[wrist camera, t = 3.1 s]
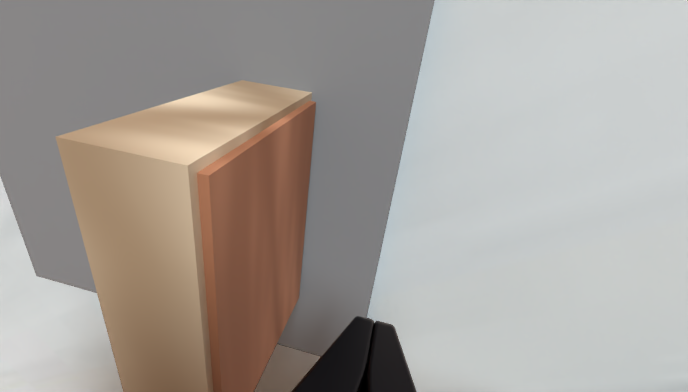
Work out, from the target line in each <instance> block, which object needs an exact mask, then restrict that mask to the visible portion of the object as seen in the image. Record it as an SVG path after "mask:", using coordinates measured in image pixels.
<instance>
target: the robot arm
mask: <svg viewBox="0 0 688 392" xmlns="http://www.w3.org/2000/svg"><path fill="white" fill-rule="evenodd" d="M292 392H416V389H415V386H414V383H413V380H412V377H411V374H410V371H409V368H408V365H407V362H406V359H405V356H404V354H403V351H402V348H401V345H400V342H399V339H398V336H397V333H396V330H395V328H394V326H393V325H391V324H388V323H384V322H380V321H376V322H375V323H374V321H373V320H372V319H369V318H365V317H361V316H356V317H355V318H354V319H353V320H352V321H351V322H350V323H349V325H348V326H347V327H346V328H345V329H344V331H343V332H342V333H341V334H340V335H339V336H338V338H337V339H336V340H335V341H334V342H333V343H332V345H331V346H330V347H329V348H328V349H327V351H326V352H325V353H324V354H323V355H322V356H321V358H320V359H319V360H318V361H317V362H316V363H315V365H314V366H313V367H312V368H311V369H310V371H309V372H308V373H307V374H306V375H305V376H304V378H303V379H302V380H301V381H300V382H299V383H298V385H297V386H296V387H295V388H294V389H293V391H292Z"/></svg>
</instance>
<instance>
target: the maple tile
mask: <svg viewBox="0 0 688 392" xmlns="http://www.w3.org/2000/svg"><path fill="white" fill-rule="evenodd" d="M311 100H312V92H306V91H301V90H295V89H289V88H284V87H278V86H272V85H267V84H261V83H255V82H250V81H244V80H241V81H238V82H234V83H231V84H228V85H224V86H221V87H218V88H215V89H211V90H208V91H205V92H201V93H198V94H195V95H192V96H188V97H185V98H182V99H178V100H175V101H172V102H168V103H165V104H162V105H159V106H155V107H152V108H149V109H145V110H142V111H139V112H135V113H132V114H129V115H126V116H122V117H119V118H116V119H112V120H109V121H106V122H103V123H99V124H96V125H93V126H89V127H86V128H83V129H79V130H76V131H73V132H70V133H66V134H63V135H60V136H56V141H57V145H58V148H59V152H60V156H61V160H62V163H63V167H64V171H65V175H66V178H67V182H68V186H69V190H70V193H71V197H72V201H73V205H74V208H75V212H76V216H77V220H78V223H79V227H80V231H81V234H82V238H83V242H84V246H85V249H86V253H87V257H88V261H89V264H90V268H91V272H92V276H93V279H94V283H95V287H96V291H97V294H98V298H99V302H100V306H101V309H102V313H103V317H104V321H105V324H106V328H107V332H108V336H109V339H110V343H111V347H112V351H113V354H114V358H115V362H116V366H117V369H118V373H119V377H120V380H121V384H122V388H123V392H254V390H255V388H256V386H257V384H258V382H259V380H260V378H261V376H262V374H263V371H264V369H265V367H266V365H267V363H268V361H269V359H270V357H271V355H272V353H273V351H274V349H275V346H276V344H277V342H278V340H279V338H280V336H281V334H282V332H283V330H284V328H285V326H286V324H287V321H288V319H289V317H290V315H291V313H292V311H293V309H294V307H295V305H296V303H297V301H298V299H299V291H300V280H301V268H302V257H303V246H304V234H305V223H306V211H307V200H308V189H309V177H310V166H311V154H312V143H313V132H314V120H315V109H316V102H314V101H311Z"/></svg>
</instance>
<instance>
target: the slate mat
mask: <svg viewBox="0 0 688 392" xmlns="http://www.w3.org/2000/svg"><path fill="white" fill-rule="evenodd" d="M433 5H434V0H0V176H1V179H2V182H3V184H4V187H5V190H6V193H7V195H8V198H9V201H10V204H11V207H12V209H13V212H14V215H15V218H16V220H17V223H18V226H19V229H20V231H21V234H22V237H23V240H24V242H25V245H26V248H27V251H28V253H29V256H30V259H31V262H32V264H33V267H34V270H35V273H36V276H39V277H42V278H46V279H50V280H53V281H57V282H60V283H64V284H67V285H71V286H74V287H78V288H81V289H85V290H88V291H92V292H95V293H97V291H96V287H95V283H94V279H93V276H92V272H91V268H90V264H89V261H88V257H87V253H86V249H85V246H84V242H83V238H82V234H81V231H80V227H79V223H78V220H77V216H76V212H75V208H74V205H73V201H72V197H71V193H70V190H69V186H68V182H67V178H66V175H65V171H64V167H63V163H62V160H61V156H60V152H59V148H58V145H57V141H56V136H60V135H63V134H66V133H70V132H73V131H76V130H79V129H83V128H86V127H89V126H93V125H96V124H99V123H103V122H106V121H109V120H112V119H116V118H119V117H122V116H126V115H129V114H132V113H135V112H139V111H142V110H145V109H149V108H152V107H155V106H159V105H162V104H165V103H168V102H172V101H175V100H178V99H182V98H185V97H188V96H192V95H195V94H198V93H201V92H205V91H208V90H211V89H215V88H218V87H221V86H224V85H228V84H231V83H234V82H238V81H241V80H244V81H250V82H255V83H261V84H267V85H272V86H278V87H284V88H289V89H295V90H301V91H306V92H312V100H311V101H314V102H316V109H315V120H314V132H313V143H312V154H311V166H310V177H309V189H308V200H307V211H306V223H305V234H304V246H303V257H302V268H301V280H300V291H299V299H298V301H297V303H296V305H295V307H294V309H293V311H292V313H291V315H290V317H289V319H288V321H287V324H286V326H285V328H284V330H283V332H282V334H281V336H280V338H279V340H278V342H277V344H279V345H283V346H286V347H290V348H293V349H297V350H301V351H304V352H308V353H311V354H315V355H318V356H322V355H323V354H324V353H325V352H326V351H327V349H328V348H329V347H330V346H331V345H332V343H333V342H334V341H335V340H336V339H337V338H338V336H339V335H340V334H341V333H342V332H343V331H344V329H345V328H346V327H347V326H348V325H349V323H350V322H351V321H352V320H353V319H354V318H355V317H356V316H361V317H365V318H366V317H367V312H368V308H369V303H370V298H371V294H372V289H373V284H374V280H375V275H376V270H377V266H378V261H379V256H380V252H381V247H382V242H383V238H384V233H385V228H386V224H387V219H388V214H389V210H390V205H391V200H392V196H393V191H394V187H395V182H396V177H397V173H398V168H399V163H400V159H401V154H402V149H403V145H404V140H405V135H406V131H407V126H408V121H409V117H410V112H411V107H412V103H413V98H414V93H415V89H416V84H417V79H418V75H419V70H420V65H421V61H422V56H423V51H424V47H425V42H426V37H427V33H428V28H429V23H430V19H431V14H432V9H433Z"/></svg>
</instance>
